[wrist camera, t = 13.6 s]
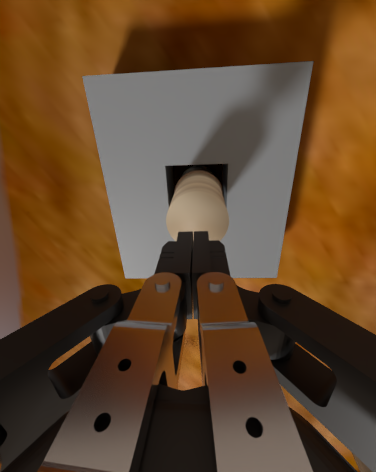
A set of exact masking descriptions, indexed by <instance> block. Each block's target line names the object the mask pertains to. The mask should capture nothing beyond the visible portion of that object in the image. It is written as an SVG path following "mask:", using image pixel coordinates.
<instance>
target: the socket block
mask: <svg viewBox="0 0 376 472" xmlns="http://www.w3.org/2000/svg"><path fill="white" fill-rule="evenodd" d="M312 67H313V61H306V62H291V63H276V64H261V65H245V66H230V67H215V68H200V69H184V70H169V71H154V72H139V73H123V74H108V75H93V76H82V77H83V82H84V87H85V91H86V96H87V101H88V105H89V110H90V115H91V119H92V124H93V129H94V133H95V138H96V143H97V147H98V152H99V157H100V161H101V166H102V171H103V176H104V180H105V185H106V190H107V194H108V199H109V204H110V208H111V213H112V218H113V222H114V227H115V232H116V236H117V241H118V246H119V250H120V255H121V260H122V264H123V269H124V274H125V278H149V277H150V276H152V275H154V273H155V270H156V267H157V263H158V260H159V257H160V254H161V250H162V247H163V246H164V245H165V244H166V243H167V242H168V241H175V240H174V239H173V238H172V237H171V235H170V234H169V231H168V229H167V225H166V216H167V212H168V209H169V207H170V204H171V201H172V199H173V196H174V177H173V165H200V164H223V171H222V191H223V198H224V201H225V205H226V208H227V211H228V215H229V226H228V230H227V232H226V234H225V236H224V237H223V238H222V240H221V241H220V242H221V243H222V244H223V245H224V246H225V251H226V256H227V261H228V266H229V271H230V276H231V277H232V278H277V273H278V267H279V261H280V255H281V249H282V243H283V238H284V232H285V226H286V220H287V214H288V208H289V202H290V196H291V190H292V185H293V179H294V173H295V167H296V161H297V155H298V149H299V143H300V138H301V132H302V126H303V120H304V114H305V108H306V102H307V96H308V90H309V85H310V79H311V73H312Z"/></svg>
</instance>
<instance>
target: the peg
mask: <svg viewBox="0 0 376 472" xmlns="http://www.w3.org/2000/svg"><path fill="white" fill-rule="evenodd" d="M166 225H167V229H168V231H169V234H170V235H171V237H172V238H173V239H174V240H175V241H177V237H178V232H184V231H193V240H194V231H208V234H209V240H219V241H221V240H222V238H223V237H224V236H225V234H226V232H227V230H228V226H229V215H228V211H227V208H226V205H225V201H224V198H223V191H222V187H221V184H220V182H219V180H218V178H217V176H216V174H215V173H214V172H213V171H212V170H211V169H209V168H208V167H205V166H202V165H196V166H193V167H190V168H188V169H187V170H186V171H185V172H184V173H183V174H182V175H181V177H180V179H179V181H178V182H177V185H176V187H175V191H174V196H173V199H172V201H171V204H170V207H169V209H168V212H167V216H166Z"/></svg>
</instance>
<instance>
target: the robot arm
mask: <svg viewBox="0 0 376 472" xmlns="http://www.w3.org/2000/svg"><path fill="white" fill-rule="evenodd" d="M193 311H194V319H198V337H199V349H200V361H201V373H202V386H201V387H197V388H194V389H190V390H185V391H181V390H178V379H179V373H180V366H181V360H182V354H183V347H184V341H185V329H186V321H187V319H192V312H193ZM89 336H90V338H91V340H92V342H90V343H89V344H87V345H86V346H85V347H83V348H82V349H81V350H79V351H78V352H76V353H75V354H74V355H72V356H71V357H69V358H68V359H67V360H65V361H64V362H63V363H61V364H60V365H58V366H57V367H56V368H54V369H52V370H48V369H49V367H50V366H51V364H52V363H53V362H54V361H55V360H56V359H57V358H59V357H60V356H62V355H63V354H65V353H66V352H67V351H69V350H70V349H72V348H73V347H75V346H76V345H77V344H79V343H80V342H82V341H83V340H84V339H86V338H87V337H89ZM295 342H297V343H298V344H299V345H301V346H302V347H303V348H305V349H306V350H308V351H309V352H310V353H312V354H313V355H314V356H316V357H317V358H318V359H320V360H321V361H322V362H324V363H325V364H326V365H327V366H329V367H330V369H331V370H332V371H331V370H330V369H329V368H327V367H326V366H325V365H323V364H322V363H321V362H319V361H318V360H317V359H315V358H314V357H313V356H311V355H310V354H309V353H307V352H306V351H305V350H303V349H302V348H301V347H299V346H298V345H297V344H295ZM280 385H282V386H283V387H284V388H285V389H286V390H287V391H288V392H289V393H290V394H291V395H292V396H293V397H294V398H295V399H296V400H297V401H298V402H299V403H301V404H302V405H303V406H304V407H305V408H306V409H307V410H308V411H309V412H310V413H311V414H312V415H313V416H314V417H315V418H316V419H317V420H319V421H320V422H321V423H322V424H323V425H324V426H325V427H326V428H327V429H328V430H329V431H330V432H331V433H332V434H333V435H334V436H335V437H336V438H338V439H339V440H340V441H341V442H342V443H343V444H344V445H345V446H346V447H347V448H348V449H349V450H350V451H351V452H352V453H353V454H354V455H356V456H357V457H358V458H359V459H360V460H361V461H362V462H363V463H364V464H365V465H366V466H367V467H368V468H369V469H370V470H371V471H372V472H376V335H375V334H373V333H371V332H369V331H368V330H366V329H364V328H362V327H361V326H359V325H357V324H355V323H353V322H352V321H350V320H348V319H346V318H344V317H343V316H341V315H339V314H337V313H336V312H334V311H332V310H330V309H328V308H327V307H325V306H323V305H321V304H319V303H318V302H316V301H314V300H312V299H311V298H309V297H307V296H305V295H303V294H302V293H300V292H298V291H296V290H294V289H293V288H291V287H288V286H285V285H280V284H271V285H267V286H264V287H263V288H262V289H261V290H260V292H259V293H257V292H253V291H249V290H245V289H243V288H241V287H239V286H237V285H236V284H235V281H234V280H233V278H232V277H231V276H230V271H229V266H228V261H227V256H226V251H225V246H224V245H223V244H222V243H221V242H220V241H219V240H209V234H208V231H194V240H193V231H184V232H178V237H177V241H168V242H167V243H166V244H165V245H164V246H163V247H162V250H161V254H160V257H159V260H158V263H157V267H156V270H155V273H154V275H152V276H150V277H149V278H148V279H147V280H146V281H145V283H144V285H143V287H142V289H139V290H137V291H133V292H128V293H124V294H121V290H120V288H118V287H117V286H115V285H110V284H106V285H100V286H97V287H94V288H92V289H90V290H88V291H86V292H85V293H83V294H81V295H79V296H77V297H76V298H74V299H72V300H70V301H68V302H67V303H65V304H63V305H61V306H59V307H58V308H56V309H54V310H52V311H51V312H49V313H47V314H45V315H43V316H42V317H40V318H38V319H36V320H34V321H33V322H31V323H29V324H27V325H25V326H24V327H22V328H20V329H18V330H16V331H15V332H13V333H11V334H9V335H7V336H6V337H4V338H2V339H0V472H357V471H356V470H355V469H354V468H353V467H352V466H351V465H350V464H349V463H348V462H347V460H346V459H345V458H344V457H343V456H342V455H341V454H340V453H339V452H338V451H337V450H336V449H335V448H334V447H333V446H332V445H331V444H330V443H329V442H328V441H327V440H326V439H325V438H324V437H323V436H322V435H321V434H320V433H319V432H318V431H317V430H316V429H315V428H314V427H313V426H312V425H311V424H310V423H309V422H308V421H307V420H305V419H304V418H303V417H302V416H301V415H300V414H298V413H297V412H295V411H294V410H293V409H291V408H290V407H288V405H287V402H286V399H285V397H284V394H283V391H282V389H281V386H280Z"/></svg>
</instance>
